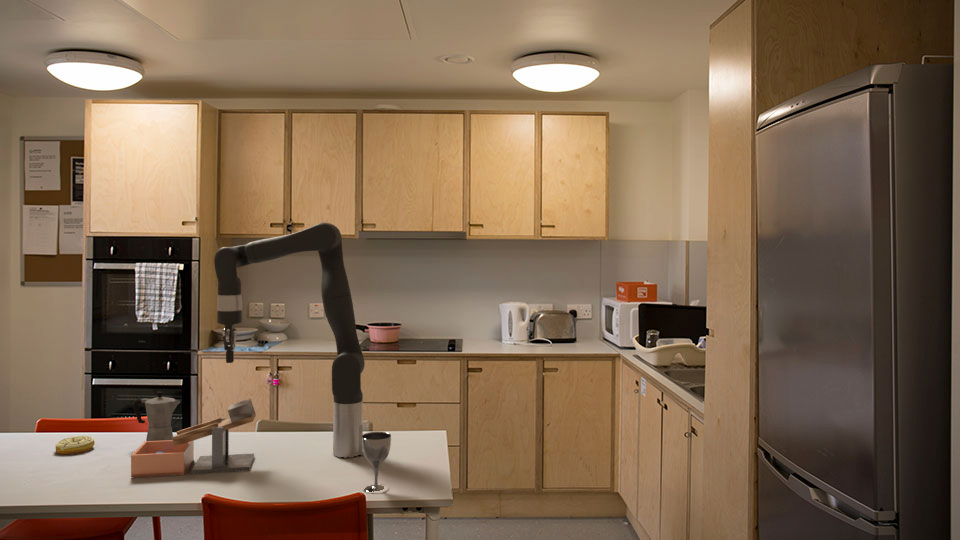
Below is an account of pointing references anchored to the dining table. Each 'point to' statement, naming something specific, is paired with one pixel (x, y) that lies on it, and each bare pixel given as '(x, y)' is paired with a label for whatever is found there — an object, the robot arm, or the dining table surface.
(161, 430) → the coffeepot
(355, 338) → the robot arm
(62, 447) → the decorated donut
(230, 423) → the lever
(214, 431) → the lever stand
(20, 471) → the dining table surface
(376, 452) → the wine glass
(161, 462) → the cup
